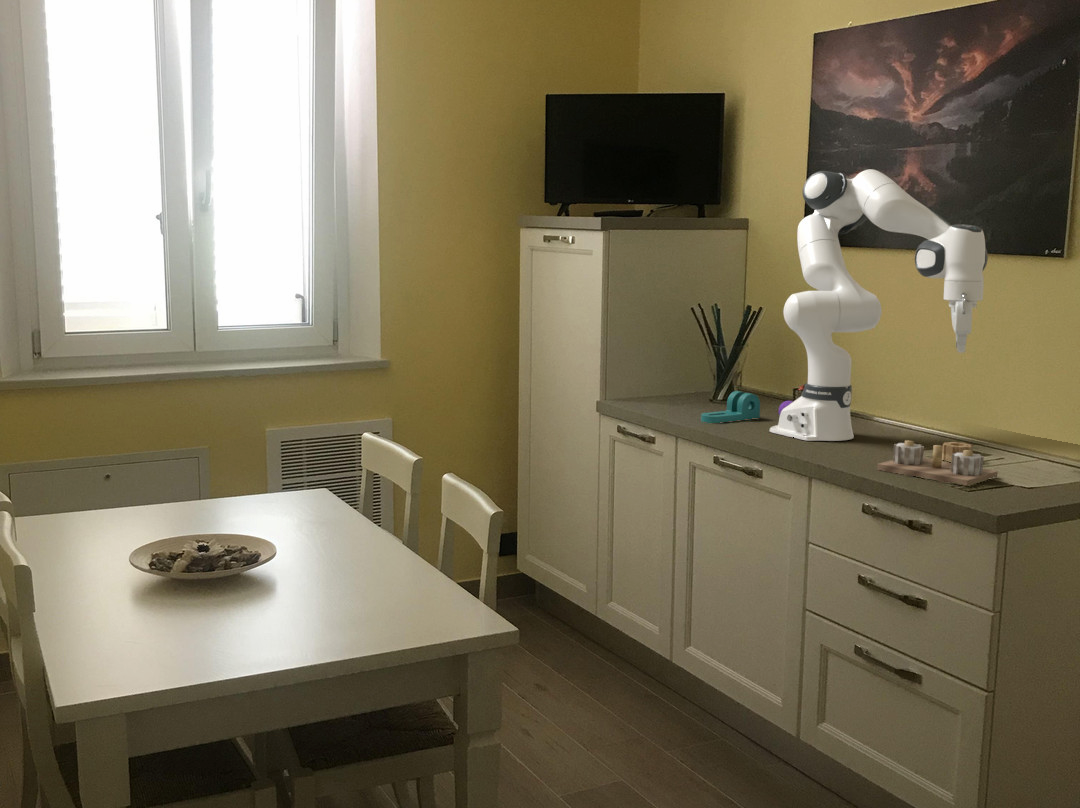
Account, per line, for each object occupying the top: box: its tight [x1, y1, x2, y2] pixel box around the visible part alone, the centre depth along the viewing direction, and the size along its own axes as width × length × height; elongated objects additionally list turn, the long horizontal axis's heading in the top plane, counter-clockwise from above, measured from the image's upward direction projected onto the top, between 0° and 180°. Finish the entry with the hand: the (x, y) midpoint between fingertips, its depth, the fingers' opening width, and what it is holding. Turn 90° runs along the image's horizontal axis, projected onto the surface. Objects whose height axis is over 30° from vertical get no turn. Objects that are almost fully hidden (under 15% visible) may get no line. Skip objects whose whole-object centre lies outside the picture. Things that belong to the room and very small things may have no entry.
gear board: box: [876, 439, 999, 485], centre depth 255 cm, size 22×14×6 cm, turn 42°
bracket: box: [700, 390, 761, 424], centre depth 322 cm, size 18×7×8 cm, turn 120°
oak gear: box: [942, 441, 973, 463], centre depth 269 cm, size 7×7×4 cm
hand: (960, 350), depth 268 cm, fingers open, 8 cm apart
